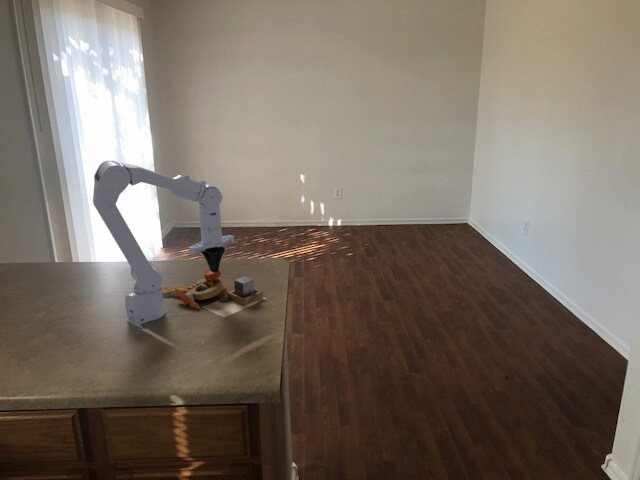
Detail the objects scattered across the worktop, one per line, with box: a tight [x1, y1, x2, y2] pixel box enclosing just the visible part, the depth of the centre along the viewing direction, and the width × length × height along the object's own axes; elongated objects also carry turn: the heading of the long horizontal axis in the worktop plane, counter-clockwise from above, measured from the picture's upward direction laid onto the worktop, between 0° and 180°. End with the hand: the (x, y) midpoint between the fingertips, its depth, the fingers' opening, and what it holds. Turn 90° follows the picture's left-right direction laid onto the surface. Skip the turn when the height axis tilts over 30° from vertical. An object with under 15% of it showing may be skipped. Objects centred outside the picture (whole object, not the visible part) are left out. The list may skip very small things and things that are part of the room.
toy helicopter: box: [162, 268, 228, 310], centre depth 151 cm, size 8×21×14 cm
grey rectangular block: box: [233, 276, 255, 298], centre depth 150 cm, size 4×4×6 cm
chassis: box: [201, 288, 268, 318], centre depth 148 cm, size 16×10×3 cm, turn 139°
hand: (214, 271), depth 148 cm, fingers closed
